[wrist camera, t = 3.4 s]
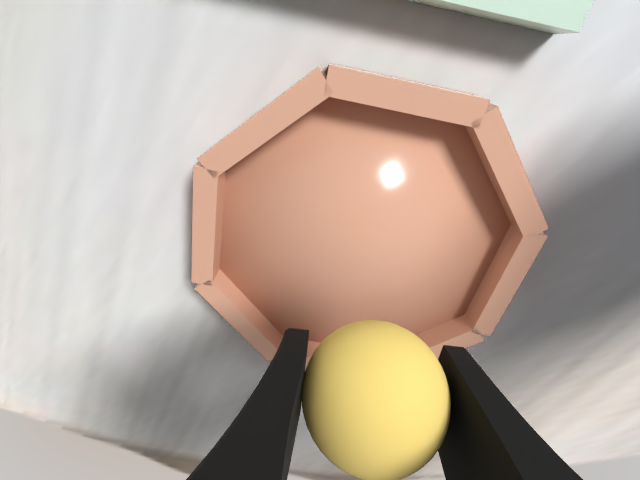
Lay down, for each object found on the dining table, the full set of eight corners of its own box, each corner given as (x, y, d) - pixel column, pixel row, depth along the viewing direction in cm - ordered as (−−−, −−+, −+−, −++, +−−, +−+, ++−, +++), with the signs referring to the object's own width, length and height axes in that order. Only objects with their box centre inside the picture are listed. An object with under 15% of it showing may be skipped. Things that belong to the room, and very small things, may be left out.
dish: (581, 117, 14) (612, 126, 13) (447, 369, 21) (455, 395, 20) (212, 37, 13) (195, 35, 12) (201, 327, 21) (190, 350, 19)
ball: (449, 304, 11) (505, 431, 7) (408, 390, 13) (436, 523, 9) (319, 280, 10) (311, 400, 7) (298, 372, 12) (282, 501, 9)
